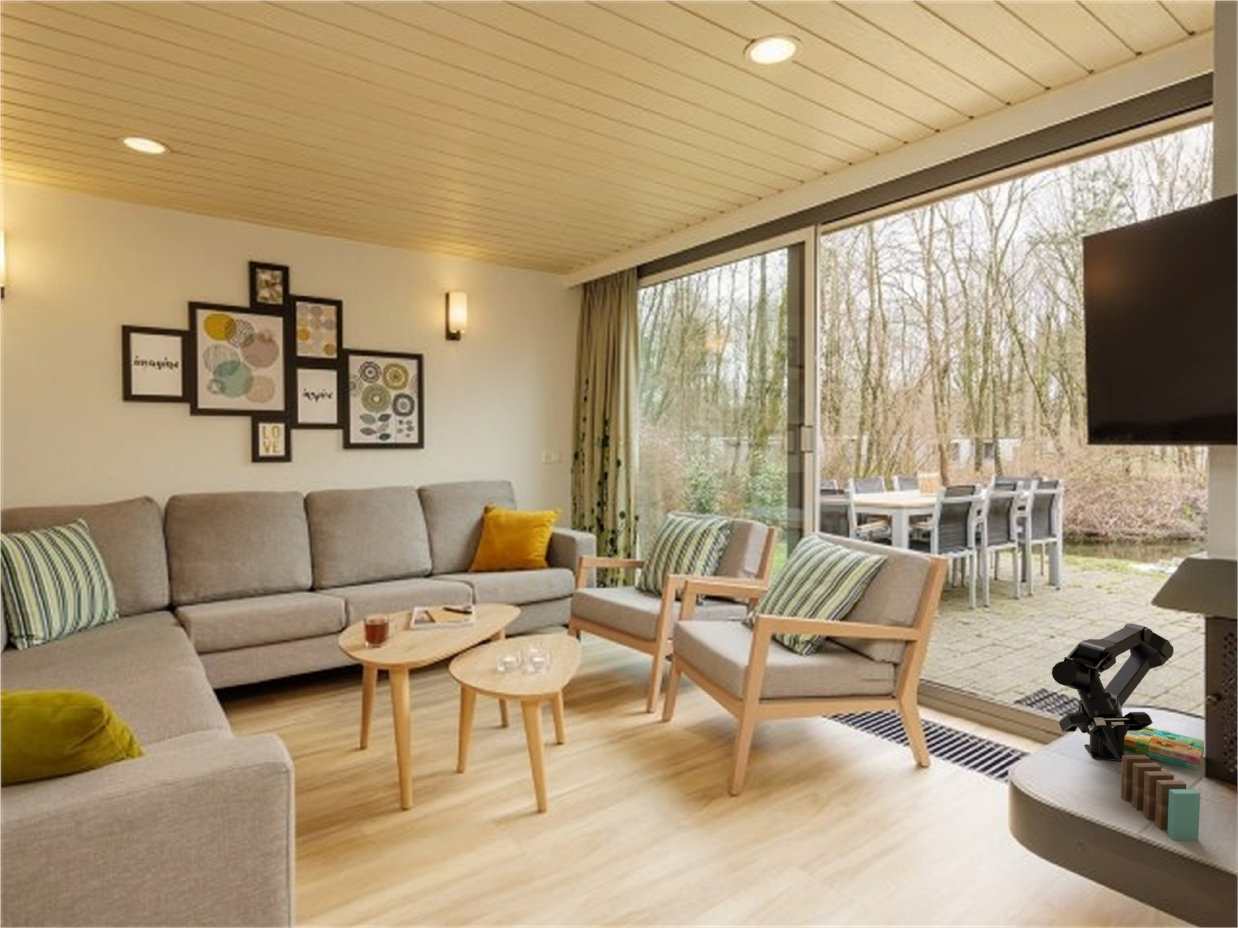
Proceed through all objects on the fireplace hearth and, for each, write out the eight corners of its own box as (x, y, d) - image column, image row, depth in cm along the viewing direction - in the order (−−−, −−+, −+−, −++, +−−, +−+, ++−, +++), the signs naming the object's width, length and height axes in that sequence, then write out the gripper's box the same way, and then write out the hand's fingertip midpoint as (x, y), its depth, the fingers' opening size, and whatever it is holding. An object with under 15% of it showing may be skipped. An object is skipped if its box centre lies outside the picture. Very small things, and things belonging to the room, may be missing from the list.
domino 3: (1143, 815, 151) (1144, 771, 150) (1166, 814, 150) (1168, 770, 150) (1148, 819, 149) (1149, 775, 148) (1172, 819, 149) (1173, 774, 148)
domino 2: (1131, 805, 154) (1133, 762, 153) (1154, 805, 154) (1156, 762, 153) (1136, 810, 152) (1138, 766, 152) (1160, 809, 152) (1161, 766, 151)
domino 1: (1120, 797, 158) (1122, 755, 157) (1143, 796, 157) (1144, 754, 156) (1125, 801, 156) (1126, 758, 155) (1148, 800, 156) (1149, 758, 155)
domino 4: (1155, 824, 147) (1156, 780, 146) (1179, 824, 147) (1180, 779, 146) (1160, 829, 145) (1162, 784, 145) (1185, 829, 145) (1186, 783, 144)
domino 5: (1167, 835, 144) (1169, 789, 143) (1192, 834, 143) (1193, 788, 143) (1173, 839, 142) (1174, 793, 141) (1198, 839, 142) (1200, 793, 141)
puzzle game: (1200, 755, 166) (1100, 729, 180) (1199, 774, 166) (1100, 746, 180) (1206, 738, 174) (1110, 714, 188) (1205, 756, 174) (1110, 731, 189)
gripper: (1114, 703, 176) (1143, 768, 166) (1039, 704, 176) (1064, 769, 167) (1137, 687, 167) (1169, 754, 157) (1058, 688, 168) (1085, 756, 158)
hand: (1120, 759), depth 160 cm, fingers closed
